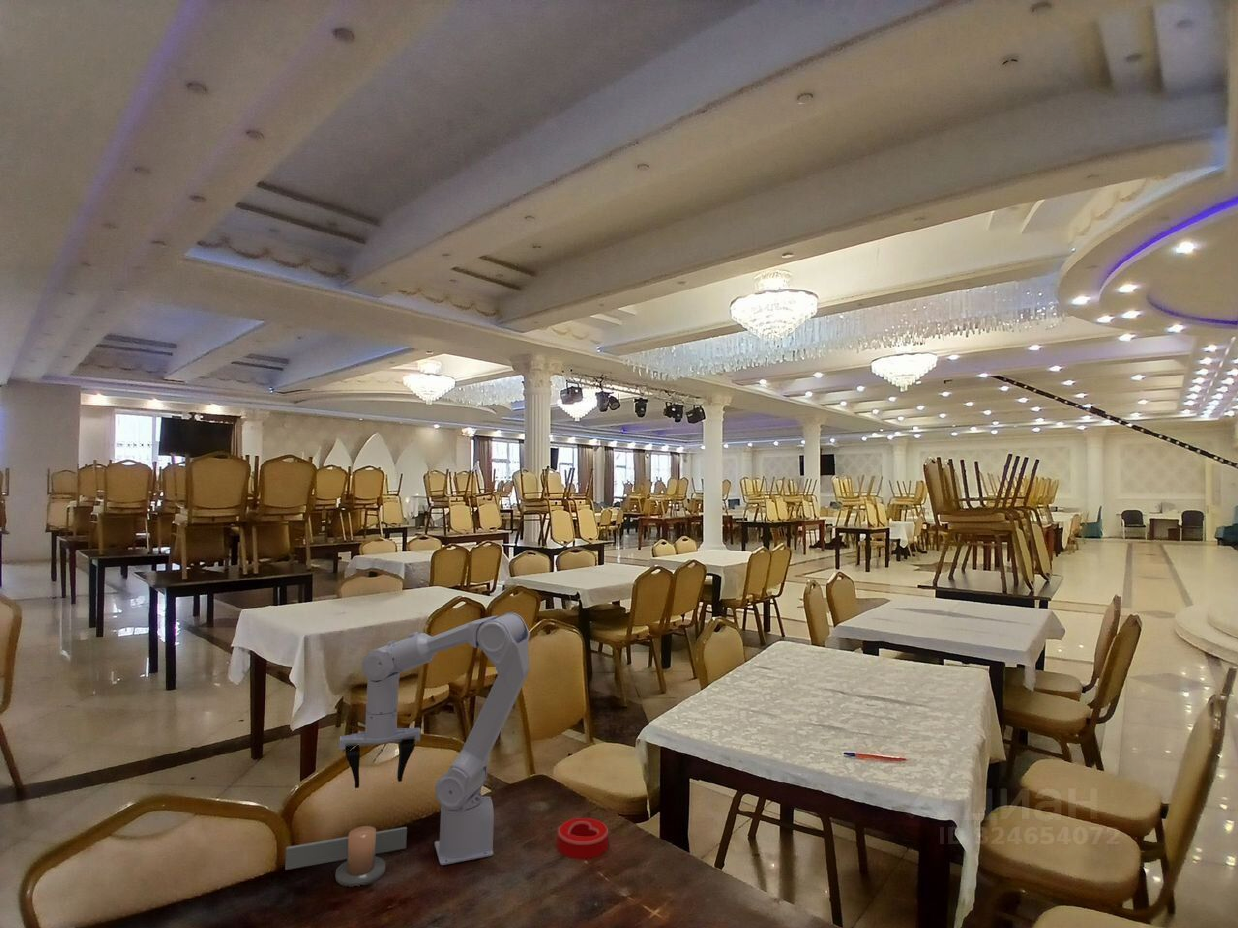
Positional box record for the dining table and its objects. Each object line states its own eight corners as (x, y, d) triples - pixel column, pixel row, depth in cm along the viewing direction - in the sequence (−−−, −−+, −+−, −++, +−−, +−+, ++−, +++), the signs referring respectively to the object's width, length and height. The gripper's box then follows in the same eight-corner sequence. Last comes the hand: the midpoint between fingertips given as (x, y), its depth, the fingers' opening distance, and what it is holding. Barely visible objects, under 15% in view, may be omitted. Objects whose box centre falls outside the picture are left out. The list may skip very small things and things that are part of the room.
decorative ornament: (546, 849, 120) (547, 832, 120) (577, 828, 128) (578, 812, 128) (588, 866, 115) (588, 847, 115) (617, 843, 123) (618, 826, 123)
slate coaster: (383, 856, 116) (383, 852, 116) (386, 880, 108) (386, 875, 109) (335, 865, 113) (335, 860, 113) (335, 890, 105) (335, 885, 105)
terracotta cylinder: (373, 859, 113) (375, 824, 114) (375, 872, 109) (376, 835, 110) (346, 864, 112) (348, 828, 112) (347, 877, 108) (348, 840, 108)
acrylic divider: (405, 845, 120) (406, 826, 120) (406, 848, 119) (406, 828, 119) (285, 867, 112) (286, 846, 112) (285, 869, 111) (286, 849, 111)
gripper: (418, 700, 130) (415, 769, 129) (340, 707, 124) (337, 779, 123) (422, 710, 123) (419, 783, 123) (341, 719, 118) (337, 795, 117)
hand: (378, 782), depth 122 cm, fingers open, 7 cm apart
